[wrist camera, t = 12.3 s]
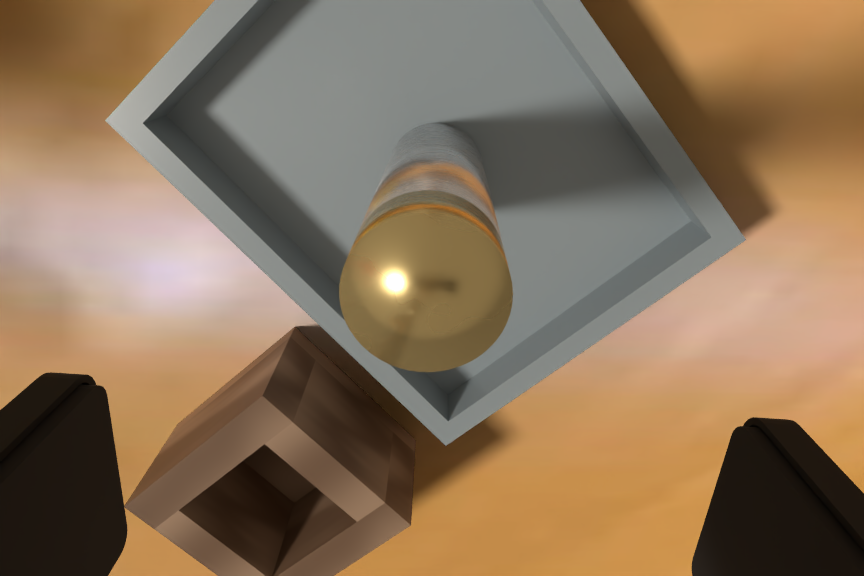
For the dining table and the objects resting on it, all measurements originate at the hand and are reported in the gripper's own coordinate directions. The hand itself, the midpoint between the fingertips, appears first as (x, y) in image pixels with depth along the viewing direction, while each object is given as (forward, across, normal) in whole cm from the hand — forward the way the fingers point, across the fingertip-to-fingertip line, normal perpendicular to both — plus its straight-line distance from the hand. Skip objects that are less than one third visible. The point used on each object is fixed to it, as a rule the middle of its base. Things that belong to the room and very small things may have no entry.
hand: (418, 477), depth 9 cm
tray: (+19, 0, -1) cm, 19 cm away
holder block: (+20, +6, +14) cm, 25 cm away
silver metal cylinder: (+18, 0, -1) cm, 18 cm away
